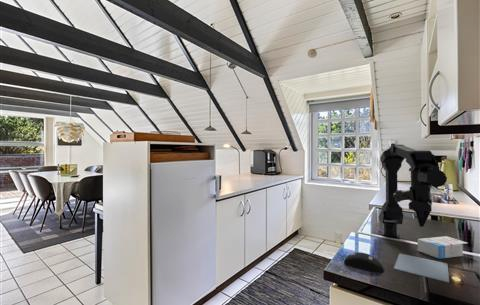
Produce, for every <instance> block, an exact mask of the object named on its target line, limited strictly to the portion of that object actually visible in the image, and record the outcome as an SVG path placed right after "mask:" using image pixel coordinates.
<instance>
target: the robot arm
mask: <svg viewBox="0 0 480 305" xmlns="http://www.w3.org/2000/svg"><path fill="white" fill-rule="evenodd" d="M379 159H380V163H381V167H382V168H383V170H384V171H385V202H384V203H383V204H382V206H381V211H380V213H379V215H378V221H379V222H380V223H381V224H383V232H382V233H381V236H384V237H390V238H395V239H398V238H399V236H400V233H398V225H402V224H403V219H404V213H403V207H401V205H400V204H399V202H402V201H407V200H409V201H410V202H408V210H411V211H413V212H414V213H415V216H416V218H417V222H418V224H419V225H418V226H419V227H421V228H423V227H425V224H426V222H427V220H428V218H429V216H430V214H431V212H432V209H433V208H432V205H433V198H432V197H431V195H432V194H431V187H434V188H440V187H442V186H444V185H445V184H446V183H447V180H448V177H447V175H446V173H445V172H444V171H442V170H440V163H439V162H438V161H437V160H436V158H435V155H434V154H433V152H432V151H431V150H426V149H425V150H424V149H423V150H422V149H418V150H417V149H414V148H412V147H408V146H406V145H404V144H392V145H390V147H389V148H387V149H386V150H384V151H382V153H381V155H380V158H379ZM404 160H405V162H406V163H407V164H408V165H409V166H410V167H409V169H408V171H409V172H410V187H409V189H408V190H401V189H400V190H399V189H398V172H399V171H400V169H401V168H402V163H403V161H404Z"/></svg>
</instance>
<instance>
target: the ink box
mask: <svg viewBox="0 0 480 305" xmlns="http://www.w3.org/2000/svg"><path fill="white" fill-rule="evenodd" d="M463 244H464V245H465V244H469V243H468V242H467V241H463V240H460V239H457V238H453V237H451V236H447V235H445V236H436V237H425V238H417V252H421V253H423V254H426V255H428V256H431V257H433V258H436V259H438V260H441V259H448V258H457V257H463V256H464V253H463V252H464V251H463Z"/></svg>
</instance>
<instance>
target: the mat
mask: <svg viewBox="0 0 480 305" xmlns="http://www.w3.org/2000/svg"><path fill="white" fill-rule="evenodd" d="M448 266H449V265H448V263H447V262H443V261H437V260H433V259H428V258H423V257H419V256H414V255H408V254H404V253H398V257H397V259H396V261H395V264H394V266H393V270H397V271H401V272H405V273H408V274H413V275H416V276H420V277H425V278H429V279H431V280H437V281H440V282H445V283H450V274H449V267H448Z"/></svg>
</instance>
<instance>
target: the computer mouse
mask: <svg viewBox="0 0 480 305" xmlns="http://www.w3.org/2000/svg"><path fill="white" fill-rule="evenodd" d="M343 263H344V265H345V266H348V267H351V268H355V269H358V270H362V271H366V272H372V273H382V272H384V270H385V268H384V266H383V263H381V261H379V260H378V258H376V257H374V256H373V255H371V254H368V253H365V252H354V253H353V252H352V253H349V254H348V255H347V256H346V257H345V258H344V260H343Z"/></svg>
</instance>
